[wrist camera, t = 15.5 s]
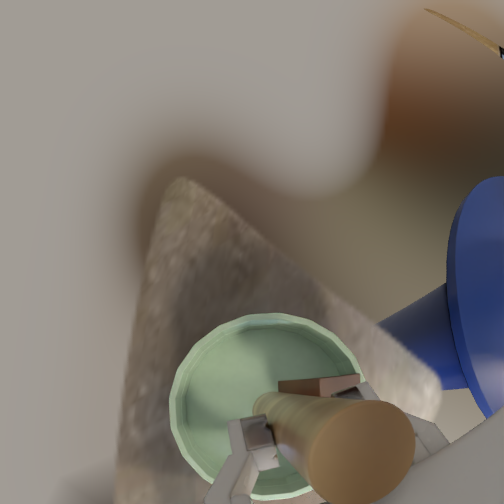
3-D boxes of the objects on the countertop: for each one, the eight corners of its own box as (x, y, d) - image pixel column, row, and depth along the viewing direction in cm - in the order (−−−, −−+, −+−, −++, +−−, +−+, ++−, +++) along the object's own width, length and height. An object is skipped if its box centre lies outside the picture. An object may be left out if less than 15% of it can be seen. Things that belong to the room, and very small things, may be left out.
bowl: (339, 318, 25) (357, 305, 21) (352, 468, 20) (372, 482, 16) (179, 328, 25) (166, 317, 21) (188, 482, 19) (177, 500, 15)
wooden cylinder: (290, 389, 19) (412, 388, 6) (294, 426, 18) (418, 486, 5) (250, 393, 18) (303, 413, 6) (254, 432, 17) (312, 520, 4)
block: (318, 377, 22) (360, 372, 19) (321, 427, 20) (363, 429, 17) (277, 380, 20) (319, 377, 17) (279, 436, 18) (321, 441, 15)
